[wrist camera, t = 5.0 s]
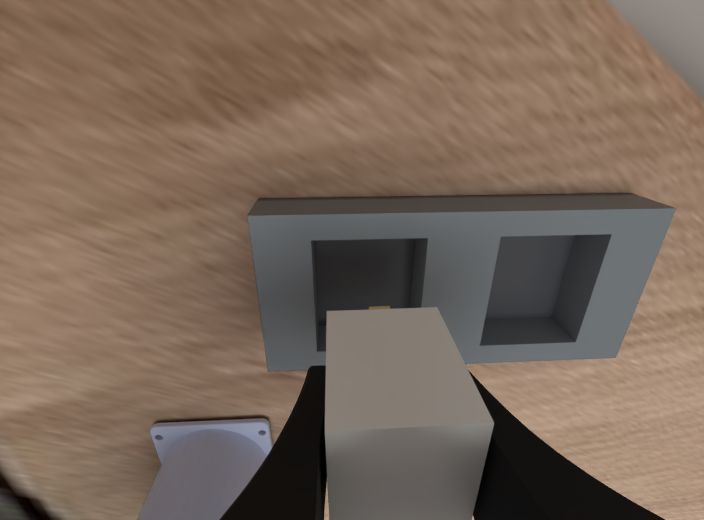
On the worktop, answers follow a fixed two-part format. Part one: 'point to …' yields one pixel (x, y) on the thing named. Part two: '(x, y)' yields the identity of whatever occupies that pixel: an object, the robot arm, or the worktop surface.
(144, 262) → the worktop surface
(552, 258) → the socket strip
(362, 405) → the plug
